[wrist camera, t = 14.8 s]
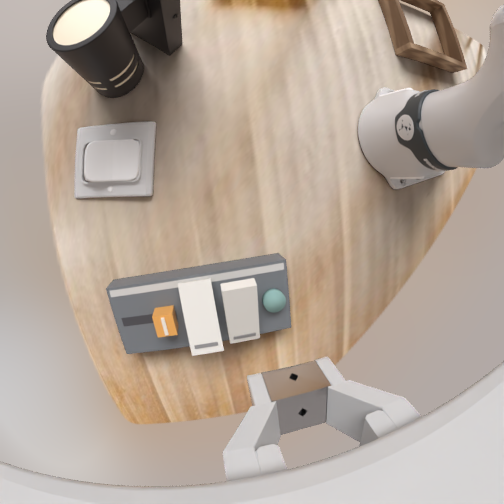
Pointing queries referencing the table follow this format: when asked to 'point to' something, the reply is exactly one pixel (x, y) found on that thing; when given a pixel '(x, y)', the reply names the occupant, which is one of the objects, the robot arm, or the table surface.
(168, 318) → the slider knob
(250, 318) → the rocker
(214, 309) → the panel
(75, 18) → the light fixture
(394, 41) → the frame
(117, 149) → the light switch
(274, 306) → the button
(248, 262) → the panel
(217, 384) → the table surface
